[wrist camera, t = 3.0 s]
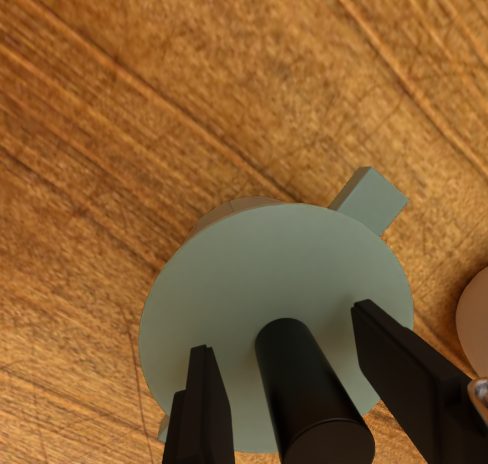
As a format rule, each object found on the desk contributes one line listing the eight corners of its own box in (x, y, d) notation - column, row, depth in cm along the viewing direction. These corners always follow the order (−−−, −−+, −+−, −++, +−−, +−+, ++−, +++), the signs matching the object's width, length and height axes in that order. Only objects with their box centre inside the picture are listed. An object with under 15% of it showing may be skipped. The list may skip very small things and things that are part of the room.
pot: (126, 320, 18) (69, 418, 11) (264, 127, 17) (304, 94, 9) (246, 385, 21) (264, 502, 13) (379, 222, 19) (483, 256, 12)
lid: (92, 364, 11) (-18, 542, 6) (252, 139, 10) (298, 105, 5) (294, 463, 14) (347, 650, 8) (444, 294, 13) (620, 390, 7)
